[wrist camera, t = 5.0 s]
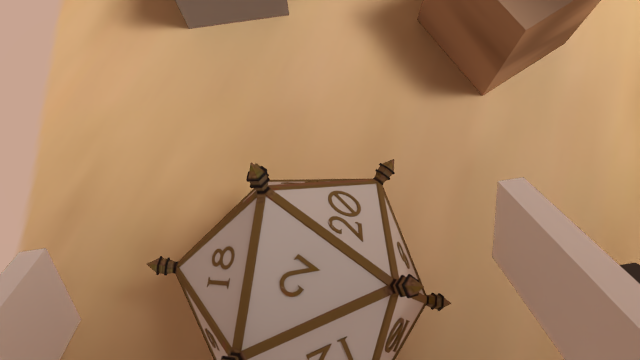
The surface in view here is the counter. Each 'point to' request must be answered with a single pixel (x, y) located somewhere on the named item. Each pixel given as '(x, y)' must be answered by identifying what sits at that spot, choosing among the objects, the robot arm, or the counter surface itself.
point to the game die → (304, 273)
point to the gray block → (229, 11)
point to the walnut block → (500, 33)
